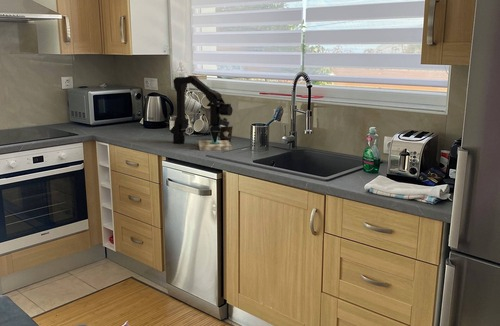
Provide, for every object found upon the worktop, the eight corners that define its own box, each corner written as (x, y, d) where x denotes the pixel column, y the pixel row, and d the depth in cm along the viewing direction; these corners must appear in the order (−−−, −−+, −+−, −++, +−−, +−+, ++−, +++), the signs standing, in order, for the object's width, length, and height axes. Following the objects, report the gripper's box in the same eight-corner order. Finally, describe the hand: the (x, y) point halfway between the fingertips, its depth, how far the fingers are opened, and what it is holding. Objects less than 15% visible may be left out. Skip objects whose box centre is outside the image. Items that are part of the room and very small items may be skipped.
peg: (210, 148, 291) (210, 132, 289) (210, 146, 296) (210, 131, 294) (218, 148, 292) (219, 132, 290) (218, 146, 296) (218, 131, 294)
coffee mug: (234, 140, 316) (234, 125, 314) (229, 143, 308) (229, 127, 306) (217, 139, 320) (217, 123, 318) (212, 141, 312) (212, 125, 310)
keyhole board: (199, 150, 284) (199, 146, 283) (198, 144, 301) (198, 140, 300) (231, 150, 286) (231, 145, 286) (228, 144, 304) (228, 140, 303)
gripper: (230, 116, 281) (229, 143, 285) (227, 112, 299) (226, 138, 303) (210, 116, 280) (210, 143, 283) (208, 112, 298) (208, 138, 301)
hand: (214, 140), depth 293 cm, fingers open, 9 cm apart
